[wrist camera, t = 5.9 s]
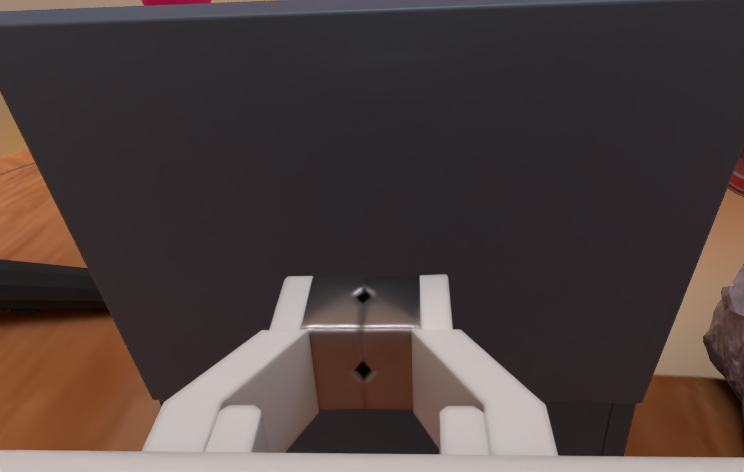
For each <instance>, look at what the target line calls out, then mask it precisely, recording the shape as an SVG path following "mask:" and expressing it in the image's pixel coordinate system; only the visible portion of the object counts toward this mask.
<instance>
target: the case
mask: <svg viewBox="0 0 744 472" xmlns="http://www.w3.org/2000/svg"><path fill="white" fill-rule="evenodd" d="M159 401H160V404H161V407H162V405H163V403H164V402H165V401H166V400H159ZM543 403H544V404H545V405H546V408H547V412H548V416H549V421H550V425H551V429H552V433H553V437H554V441H555V445H556V449H557V453H558V456H624V452H625V447H626V443H627V439H628V435H629V431H630V427H631V422H632V418H633V414H634V410H635V406H636V403H601V402H543ZM285 453H346V454H439V448H438V447H437V445H436V444H435V443H434V441H433V440H432V438H431V437H430V436H429V434H428V433H427V431H426V430H425V428H424V427H423V426H422V424H421V423H420V421H419V420H418V418H417V417H416V416H415V414H414V413H413V410H389V409H330V410H319V413H318V414H317V415H316V417H315V418H314V419H313V420H312V421H311V423H310V424H309V425H308V426H307V427H306V428H305V430H304V431H303V432H302V433H301V434H300V435H299V437H298V438H297V439H296V440H295V441H294V443H293V444H292V445H291V446H290V447H289V448H288V450H287V451H286V452H285Z"/></svg>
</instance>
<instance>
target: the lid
mask: <svg viewBox="0 0 744 472" xmlns="http://www.w3.org/2000/svg"><path fill="white" fill-rule="evenodd" d="M0 91H1V94H2V96H3V98H4V100H5V102H6V104H7V106H8V108H9V110H10V112H11V114H12V116H13V118H14V120H15V122H16V124H17V126H18V128H19V130H20V132H21V134H22V136H23V138H24V140H25V142H26V144H27V146H28V148H29V151H30V153H31V155H32V157H33V159H34V161H35V163H36V165H37V167H38V169H39V171H40V173H41V175H42V177H43V179H44V181H45V183H46V185H47V187H48V189H49V191H50V193H51V195H52V197H53V199H54V201H55V203H56V205H57V207H58V209H59V211H60V213H61V215H62V217H63V219H64V221H65V223H66V225H67V227H68V229H69V231H70V233H71V235H72V237H73V239H74V241H75V243H76V245H77V247H78V249H79V251H80V253H81V256H82V258H83V260H84V262H85V264H86V266H87V268H88V270H89V272H90V274H91V276H92V278H93V280H94V282H95V284H96V286H97V288H98V290H99V292H100V294H101V296H102V298H103V300H104V302H105V304H106V306H107V308H108V310H109V312H110V314H111V316H112V318H113V320H114V322H115V324H116V326H117V328H118V330H119V332H120V334H121V336H122V338H123V340H124V342H125V344H126V346H127V348H128V350H129V352H130V354H131V356H132V358H133V361H134V363H135V365H136V367H137V369H138V371H139V373H140V375H141V377H142V379H143V381H144V383H145V385H146V387H147V389H148V391H149V393H150V395H151V397H152V399H154V400H168V399H169V398H170V397H172V396H173V395H174V394H176V393H177V392H178V391H180V390H181V389H183V388H184V387H185V386H187V385H188V384H189V383H191V382H192V381H193V380H195V379H196V378H197V377H199V376H200V375H201V374H203V373H204V372H206V371H207V370H208V369H210V368H211V367H212V366H214V365H215V364H216V363H218V362H219V361H220V360H222V359H223V358H225V357H226V356H227V355H229V354H230V353H231V352H233V351H234V350H235V349H237V348H238V347H239V346H241V345H242V344H244V343H245V342H246V341H248V340H249V339H250V338H252V337H253V336H254V335H256V334H257V333H258V332H260V331H261V330H269V329H270V325H271V322H272V319H273V315H274V312H275V309H276V306H277V302H278V299H279V296H280V292H281V289H282V286H283V282H284V280H285V279H286V278H287V277H288V276H313V277H314V276H364V277H395V276H419V279H420V275H439V274H446V275H447V276H448V282H449V293H450V304H451V315H452V326H453V329H460V330H462V331H463V332H464V333H465V334H466V335H467V336H469V337H470V338H471V339H472V340H473V341H474V342H475V343H476V344H478V345H479V346H480V347H481V348H482V349H483V350H484V351H485V352H487V353H488V354H489V355H490V356H491V357H492V358H493V359H494V360H496V361H497V362H498V363H499V364H500V365H501V366H502V367H503V368H505V369H506V370H507V371H508V372H509V373H510V374H511V375H512V376H514V377H515V378H516V379H517V380H518V381H519V382H520V383H521V384H523V385H524V386H525V387H526V388H527V389H528V390H529V391H531V392H532V393H533V394H534V395H535V396H536V397H537V398H538V399H540V400H541V401H542V402H601V403H641V402H642V401H643V399H644V396H645V394H646V391H647V389H648V386H649V384H650V381H651V379H652V376H653V373H654V371H655V368H656V366H657V363H658V361H659V358H660V356H661V353H662V351H663V348H664V346H665V343H666V341H667V338H668V335H669V333H670V331H671V328H672V326H673V323H674V321H675V318H676V315H677V313H678V310H679V308H680V305H681V303H682V300H683V298H684V295H685V293H686V290H687V287H688V285H689V283H690V280H691V278H692V275H693V273H694V270H695V268H696V265H697V263H698V260H699V258H700V255H701V253H702V250H703V247H704V245H705V243H706V240H707V238H708V235H709V232H710V230H711V227H712V225H713V222H714V220H715V217H716V215H717V212H718V210H719V207H720V205H721V202H722V200H723V197H724V195H725V192H726V190H727V187H728V185H729V182H730V180H731V177H732V175H733V172H734V170H735V167H736V164H737V162H738V159H739V157H740V154H741V152H742V149H743V147H744V0H278V1H252V2H227V3H202V4H177V5H151V6H129V7H128V6H126V7H103V8H102V7H101V8H77V9H51V10H26V11H4V12H3V11H1V12H0Z"/></svg>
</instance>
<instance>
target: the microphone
mask: <svg viewBox="0 0 744 472" xmlns="http://www.w3.org/2000/svg"><path fill="white" fill-rule="evenodd" d="M64 308H107V306H106V304H105V302H104V300H103V298H102V296H101V294H100V292H99V290H98V288H97V286H96V284H95V282H94V280H93V278H92V276H91V274H90V272H89V270H88V268H80V267H70V266H60V265H50V264H40V263H30V262H20V261H10V260H0V309H11V313H12V312H13V313H16V314H25V313H37V312H39V311H40V310H41V309H64Z"/></svg>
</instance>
